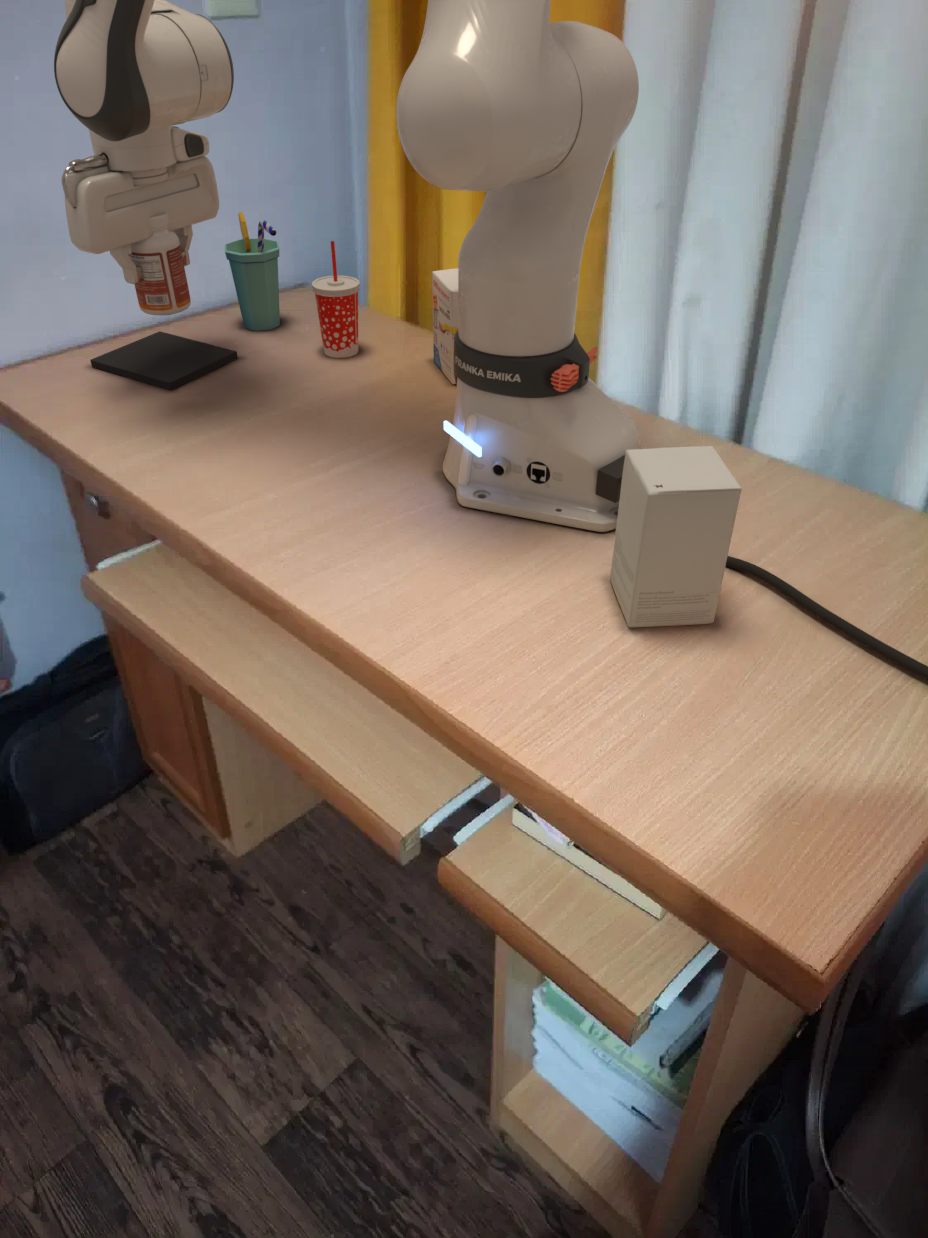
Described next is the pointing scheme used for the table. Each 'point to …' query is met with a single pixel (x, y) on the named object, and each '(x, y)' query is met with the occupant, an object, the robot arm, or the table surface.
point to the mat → (164, 360)
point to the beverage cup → (338, 312)
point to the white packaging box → (673, 535)
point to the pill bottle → (161, 270)
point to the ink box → (445, 319)
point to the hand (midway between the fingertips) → (159, 273)
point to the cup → (256, 276)
